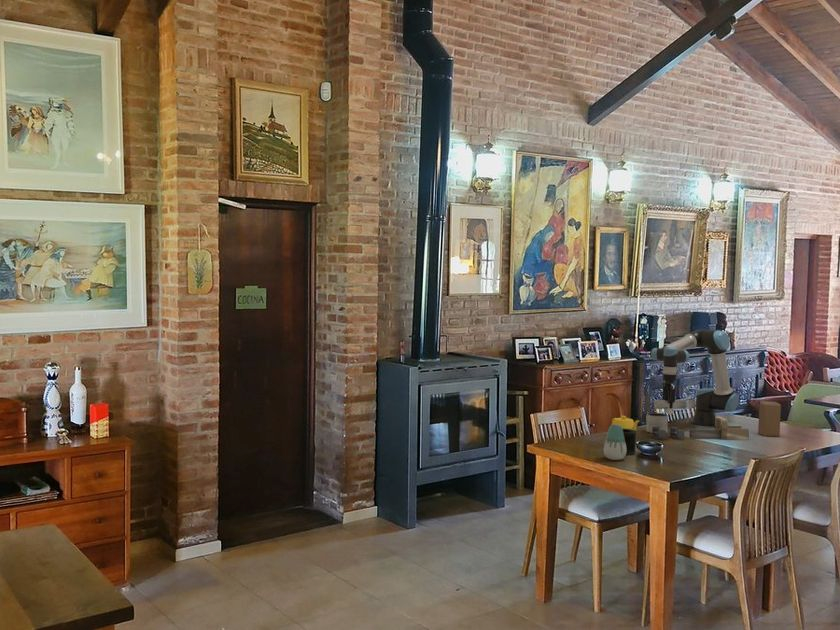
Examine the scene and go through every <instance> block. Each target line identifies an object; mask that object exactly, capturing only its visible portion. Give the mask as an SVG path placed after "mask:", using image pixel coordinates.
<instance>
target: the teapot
mask: <svg viewBox="0 0 840 630" xmlns="http://www.w3.org/2000/svg"><path fill="white" fill-rule="evenodd" d="M639 422H640V420H635V421H634V419H633V418H629V417H627V416H626V415H621V417H613V418H612V419H611V425H612V424H613V425H620V426H621V427H622V429H632V430H635V431H637V428H638V423H639Z"/></svg>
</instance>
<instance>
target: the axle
mask: <svg viewBox="0 0 840 630" xmlns="http://www.w3.org/2000/svg"><path fill="white" fill-rule="evenodd" d="M668 402H669V399H668V400H663V399H659V400H658V399H656V400H655V399H654V401H653V407H654V409H657V410H658V409H659V410H661V409H662V410H664V409H668ZM687 404H688V403H687V401H686V400H677V399H675V402H674V403H673V410H686V409H687Z"/></svg>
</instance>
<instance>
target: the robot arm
mask: <svg viewBox="0 0 840 630" xmlns="http://www.w3.org/2000/svg"><path fill="white" fill-rule="evenodd" d="M730 344H731V338H730V336H729V334H728V333H727V332H726V331H724V330H720V329H719V330H718V329H717V330H713V329H697V330H695V331H690V332H688V333H687V334H685V335H684V336H683V337H682V338H680V339H678V340H675V341H673V342H671V343H669V344H667V345H665V346H662V347H653V348H652V349H651V350H650V357H651V359H652V360H653V361H657V362H663V367H662V373H663V374H662V381H664V382H662V399H661V400H669V402H668V409H663V413H667V415H673V413H674V412H673V411H674V409H673V403H674V402H675V400H676V389H677V386H676V385H674V382H675V381H677V369H678V368H677V364H681V363H682V364H684V363H687V362H688V361H689V360H690V356H691V355H690V353H689V351H687V350H690V349H691V350H692V349H695V348H697V349H699V348H700V349H706V350H707V354H709V355H710V359H711V366H712V372H713V378H714V384H715V385H714V386H715V388H712V387H711V388H710V387H709V388H698V389H697V390H696V393H695V411H694V413H693V417H692V419H691V420H692V421H691V422H692V424H693V423H694V424H693V425H697V426H704V427H705V426H706V427H710V426H711V427H715V417H716V414H715V410H717V411H723V412H730V413H731V412H734V411H735V410H736V409H737V407H738V405H739V401H740V399H739V395H738V394H737V393H734V392H735V391H734V388H733V387H731V384H730V378H729V372H728V371H729V370H728V365H727V358H726V357H727V356H726V353H727V352H728V349H729V348H730V346H731V345H730Z"/></svg>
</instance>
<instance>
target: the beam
mask: <svg viewBox="0 0 840 630" xmlns="http://www.w3.org/2000/svg"><path fill="white" fill-rule="evenodd" d="M749 436H750V431H749V428H742V426H741V425H728V419H727V418H724V417H723V416H715V426H714V429H689V435H688V437H690V439H692V438H693V439H694V440H695V439H696V440H699V439H700V440H703V439H704V440H713V439H714V440H718V439H719V440H722V441H725V440H727V441H729V440H730V441H732V440H734V441H747V440H750V437H749Z"/></svg>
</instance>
